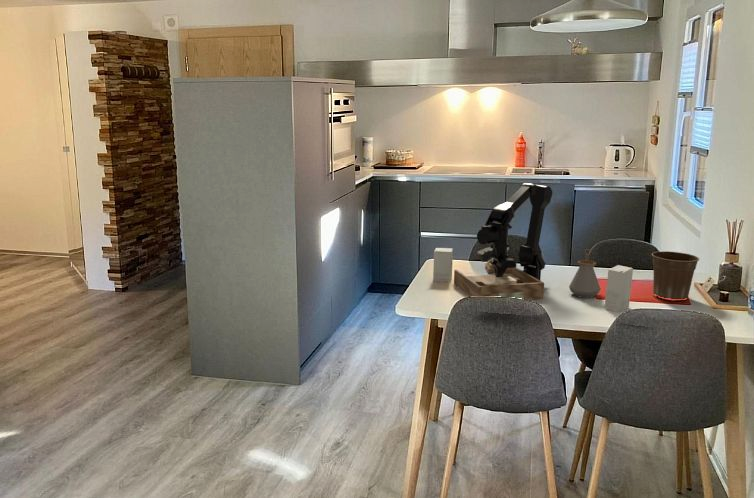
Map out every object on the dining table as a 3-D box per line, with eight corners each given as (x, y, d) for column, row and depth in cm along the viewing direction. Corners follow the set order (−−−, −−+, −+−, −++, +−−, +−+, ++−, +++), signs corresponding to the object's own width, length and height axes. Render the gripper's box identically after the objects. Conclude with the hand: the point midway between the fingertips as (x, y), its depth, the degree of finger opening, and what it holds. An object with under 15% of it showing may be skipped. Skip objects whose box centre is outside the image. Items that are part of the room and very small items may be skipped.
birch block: (509, 286, 254) (509, 276, 253) (516, 290, 249) (516, 280, 248) (494, 287, 253) (495, 277, 252) (501, 291, 247) (501, 281, 246)
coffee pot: (600, 300, 247) (603, 261, 244) (567, 297, 251) (570, 258, 248) (600, 285, 267) (603, 249, 264) (570, 283, 271) (572, 247, 268)
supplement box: (450, 282, 271) (451, 251, 269) (432, 281, 273) (433, 251, 270) (452, 277, 278) (453, 248, 276) (434, 276, 280) (435, 247, 277)
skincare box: (613, 304, 243) (617, 264, 240) (630, 307, 239) (633, 267, 236) (603, 309, 237) (607, 268, 234) (620, 312, 233) (624, 271, 230)
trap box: (513, 280, 274) (514, 266, 273) (543, 298, 250) (544, 282, 248) (453, 284, 269) (454, 269, 267) (478, 302, 244) (478, 286, 243)
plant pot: (691, 293, 258) (695, 252, 254) (697, 305, 242) (702, 262, 239) (645, 289, 262) (649, 249, 259) (649, 301, 247) (654, 258, 243)
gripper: (471, 237, 261) (469, 275, 265) (490, 247, 244) (488, 288, 247) (497, 235, 264) (495, 274, 267) (518, 245, 246) (516, 286, 250)
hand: (498, 280), depth 258 cm, fingers closed
